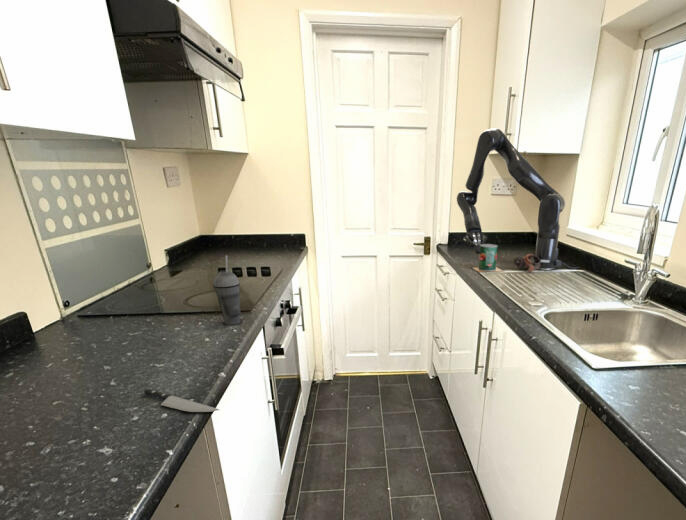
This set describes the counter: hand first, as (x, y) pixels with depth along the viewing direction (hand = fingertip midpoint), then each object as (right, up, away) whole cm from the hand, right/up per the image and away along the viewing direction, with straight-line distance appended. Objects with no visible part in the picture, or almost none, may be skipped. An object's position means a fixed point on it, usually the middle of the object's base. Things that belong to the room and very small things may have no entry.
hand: (478, 252), depth 202 cm
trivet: (+2, -10, -10) cm, 14 cm away
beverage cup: (-89, -38, -78) cm, 124 cm away
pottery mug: (+20, -11, -11) cm, 25 cm away
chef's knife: (-82, -56, -122) cm, 157 cm away
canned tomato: (+2, -10, -10) cm, 14 cm away
